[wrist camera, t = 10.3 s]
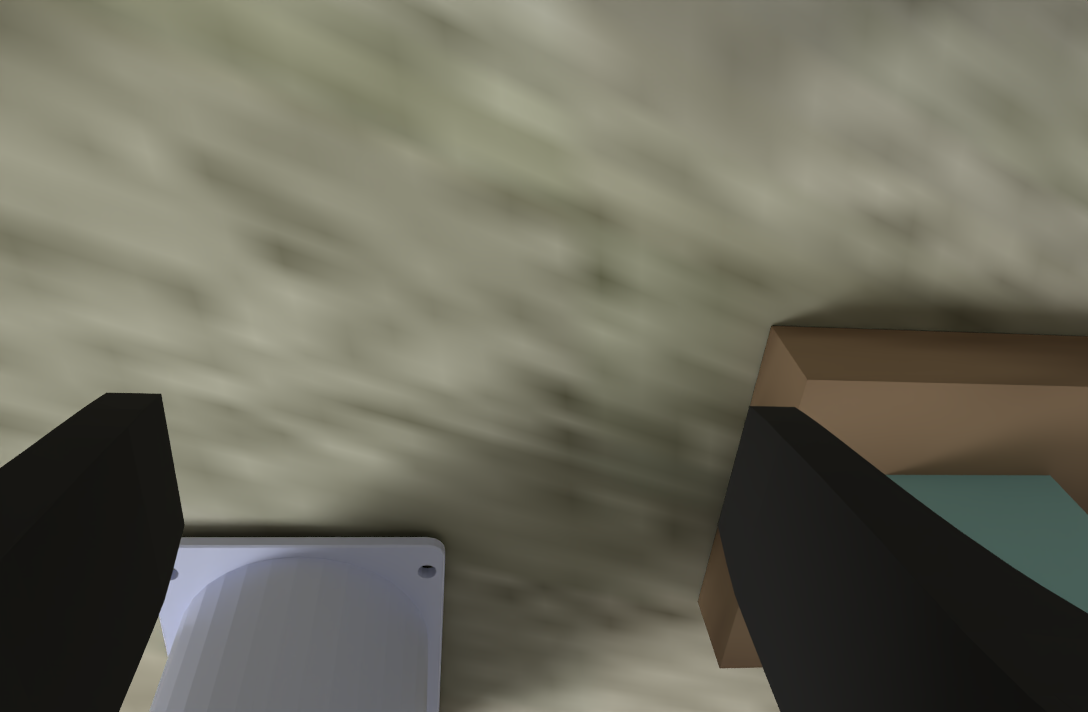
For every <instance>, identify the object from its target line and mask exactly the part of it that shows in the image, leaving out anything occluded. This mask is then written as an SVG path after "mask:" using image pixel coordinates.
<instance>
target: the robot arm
mask: <svg viewBox="0 0 1088 712" xmlns="http://www.w3.org/2000/svg"><path fill="white" fill-rule="evenodd" d="M184 525H185V524H184V519H183V513H182V508H181V502H180V496H179V491H178V485H177V480H176V474H175V469H174V463H173V457H172V452H171V446H170V441H169V435H168V429H167V424H166V418H165V413H164V407H163V402H162V396H161V394H143V393H105V394H104V395H102V396H101V397H99V398H98V399H96V400H95V401H93V402H91V403H90V404H89V405H87V406H86V407H84V408H83V409H81V410H80V411H79V412H77V413H76V414H74V415H73V416H72V417H70V418H69V419H67V420H66V421H65V422H63V423H62V424H60V425H59V426H58V427H56V428H55V429H54V430H52V431H51V432H50V433H48V434H47V435H45V436H44V437H43V438H41V439H40V440H39V441H37V442H36V443H34V444H33V445H32V446H30V447H29V448H28V449H26V450H25V451H23V452H22V453H21V454H19V455H18V456H16V457H15V458H14V459H12V460H11V461H9V462H8V463H7V464H5V465H4V466H2V467H1V468H0V712H119V710H120V708H121V706H122V703H123V701H124V698H125V696H126V694H127V691H128V689H129V686H130V684H131V682H132V679H133V677H134V674H135V672H136V670H137V667H138V665H139V663H140V660H141V658H142V655H143V653H144V650H145V648H146V645H147V643H148V641H149V638H150V636H151V633H152V631H153V628H154V626H155V623H156V621H157V618H158V616H159V618H160V622H161V627H162V632H163V636H164V641H165V645H166V650H167V655H168V659H167V662H166V665H165V668H164V671H163V673H162V676H161V679H160V682H159V685H158V688H157V691H156V693H155V696H154V699H153V702H152V705H151V708H150V711H149V712H439V701H440V676H441V651H442V625H443V600H444V575H445V547H444V545H443V543H442V542H441V541H439V540H437V539H435V538H430V537H182V533H183V529H184ZM718 529H719V533H720V538H721V542H722V546H723V551H724V555H725V559H726V564H727V567H728V571H729V575H730V579H731V583H732V587H733V590H734V594H735V597H736V600H737V602H738V605H739V608H740V610H741V613H742V616H743V618H744V621H745V623H746V626H747V629H748V631H749V634H750V636H751V639H752V641H753V644H754V647H755V649H756V652H757V654H758V657H759V659H760V662H761V664H762V667H763V669H764V672H765V674H766V677H767V679H768V682H769V684H770V687H771V689H772V692H773V694H774V697H775V699H776V702H777V704H778V707H779V709H780V712H1088V613H1087V612H1085V611H1083V610H1082V609H1080V608H1078V607H1077V606H1075V605H1073V604H1072V603H1070V602H1068V601H1067V600H1065V599H1063V598H1062V597H1060V596H1058V595H1057V594H1055V593H1053V592H1052V591H1050V590H1048V589H1047V588H1045V587H1043V586H1042V585H1040V584H1039V583H1037V582H1035V581H1034V580H1032V579H1031V578H1029V577H1028V576H1026V575H1025V574H1023V573H1021V572H1020V571H1018V570H1017V569H1015V568H1014V567H1012V566H1011V565H1009V564H1008V563H1006V562H1005V561H1003V560H1002V559H1000V558H999V557H998V556H996V555H995V554H993V553H992V552H990V551H989V550H987V549H986V548H984V547H983V546H982V545H980V544H979V543H977V542H976V541H974V540H973V539H971V538H970V537H968V536H967V535H966V534H964V533H963V532H961V531H960V530H958V529H957V528H956V527H954V526H953V525H952V524H950V523H949V522H947V521H946V520H945V519H943V518H942V517H941V516H939V515H938V514H936V513H935V512H934V511H932V510H931V509H930V508H928V507H927V506H926V505H924V504H923V503H922V502H920V501H919V500H918V499H916V498H915V497H914V496H912V495H911V494H910V493H908V492H907V491H906V490H904V489H903V488H902V487H900V486H899V485H898V484H897V483H895V482H894V481H893V480H891V479H890V478H889V477H887V476H886V475H885V474H884V473H882V472H881V471H880V470H878V469H877V468H876V467H875V466H873V465H872V464H871V463H869V462H868V461H867V460H866V459H864V458H863V457H862V456H860V455H859V454H858V453H857V452H855V451H854V450H853V449H851V448H850V447H849V446H848V445H846V444H845V443H844V442H842V441H841V440H840V439H839V438H837V437H836V436H835V435H833V434H832V433H831V432H829V431H828V430H827V429H826V428H824V427H823V426H821V425H820V424H819V423H817V422H816V421H815V420H813V419H812V418H811V417H809V416H808V415H806V414H805V413H803V412H802V411H800V410H799V409H797V408H796V407H776V406H749V410H748V413H747V417H746V421H745V425H744V428H743V432H742V436H741V440H740V444H739V447H738V451H737V455H736V459H735V462H734V466H733V470H732V474H731V477H730V481H729V485H728V489H727V492H726V496H725V500H724V504H723V507H722V511H721V515H720V519H719V522H718ZM425 565H430V566H433V567H431V568H423V567H422V566H425ZM173 569H175V570H173Z"/></svg>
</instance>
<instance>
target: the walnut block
mask: <svg viewBox="0 0 1088 712" xmlns="http://www.w3.org/2000/svg"><path fill="white" fill-rule="evenodd" d="M750 406H776V407H796V408H797V409H799V410H800V411H802V412H803V413H805V414H806V415H808V416H809V417H811V418H812V419H813V420H815V421H816V422H817V423H819V424H820V425H821V426H823V427H824V428H826V429H827V430H828V431H829V432H831V433H832V434H833V435H835V436H836V437H837V438H839V439H840V440H841V441H842V442H844V443H845V444H846V445H848V446H849V447H850V448H851V449H853V450H854V451H855V452H857V453H858V454H859V455H860V456H862V457H863V458H864V459H866V460H867V461H868V462H869V463H871V464H872V465H873V466H875V467H876V468H877V469H878V470H880V471H881V472H882V473H884V474H885V475H1050V476H1051V477H1052V478H1053V479H1054V480H1055V481H1056V482H1057V483H1058V484H1059V485H1060V486H1061V487H1062V488H1063V489H1064V490H1065V491H1066V493H1067V494H1068V495H1069V496H1070V497H1071V498H1072V499H1073V500H1074V501H1075V502H1076V503H1077V504H1078V505H1079V506H1080V507H1081V508H1082V509H1083V510H1084V511H1085V512H1086V514H1087V515H1088V337H1087V336H1057V335H1028V334H998V333H968V332H939V331H909V330H879V329H850V328H820V327H790V326H771V329H770V333H769V337H768V340H767V344H766V348H765V352H764V355H763V359H762V363H761V367H760V370H759V374H758V378H757V382H756V385H755V389H754V393H753V397H752V400H751V404H750ZM698 603H699V606H700V610H701V613H702V616H703V619H704V622H705V625H706V628H707V631H708V634H709V637H710V640H711V643H712V646H713V649H714V652H715V655H716V658H717V662H718V665H719V668H754V667H762V664H761V662H760V659H759V657H758V654H757V652H756V649H755V647H754V644H753V641H752V639H751V636H750V634H749V631H748V629H747V626H746V623H745V621H744V618H743V616H742V613H741V610H740V608H739V605H738V602H737V600H736V597H735V594H734V590H733V587H732V583H731V579H730V575H729V571H728V567H727V564H726V559H725V555H724V551H723V546H722V542H721V538H720V533H719V529H718V528H717V532H716V536H715V539H714V543H713V547H712V551H711V554H710V558H709V562H708V566H707V569H706V573H705V577H704V581H703V584H702V588H701V592H700V596H699V599H698Z"/></svg>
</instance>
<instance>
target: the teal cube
mask: <svg viewBox="0 0 1088 712" xmlns="http://www.w3.org/2000/svg"><path fill="white" fill-rule="evenodd" d="M886 476H887V477H889V478H890V479H891V480H893V481H894V482H895V483H897V484H898V485H899V486H900V487H902V488H903V489H904V490H906V491H907V492H908V493H910V494H911V495H912V496H914V497H915V498H916V499H918V500H919V501H920V502H922V503H923V504H924V505H926V506H927V507H928V508H930V509H931V510H932V511H934V512H935V513H936V514H938V515H939V516H941V517H942V518H943V519H945V520H946V521H947V522H949V523H950V524H952V525H953V526H954V527H956V528H957V529H958V530H960V531H961V532H963V533H964V534H966V535H967V536H968V537H970V538H971V539H973V540H974V541H976V542H977V543H979V544H980V545H982V546H983V547H984V548H986V549H987V550H989V551H990V552H992V553H993V554H995V555H996V556H998V557H999V558H1000V559H1002V560H1003V561H1005V562H1006V563H1008V564H1009V565H1011V566H1012V567H1014V568H1015V569H1017V570H1018V571H1020V572H1021V573H1023V574H1025V575H1026V576H1028V577H1029V578H1031V579H1032V580H1034V581H1035V582H1037V583H1039V584H1040V585H1042V586H1043V587H1045V588H1047V589H1048V590H1050V591H1052V592H1053V593H1055V594H1057V595H1058V596H1060V597H1062V598H1063V599H1065V600H1067V601H1068V602H1070V603H1072V604H1073V605H1075V606H1077V607H1078V608H1080V609H1082V610H1083V611H1085V612H1087V613H1088V515H1087V514H1086V512H1085V511H1084V510H1083V509H1082V508H1081V507H1080V506H1079V505H1078V504H1077V503H1076V502H1075V501H1074V500H1073V499H1072V498H1071V497H1070V496H1069V495H1068V494H1067V493H1066V491H1065V490H1064V489H1063V488H1062V487H1061V486H1060V485H1059V484H1058V483H1057V482H1056V481H1055V480H1054V479H1053V478H1052V477H1051V476H1050V475H886Z"/></svg>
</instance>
